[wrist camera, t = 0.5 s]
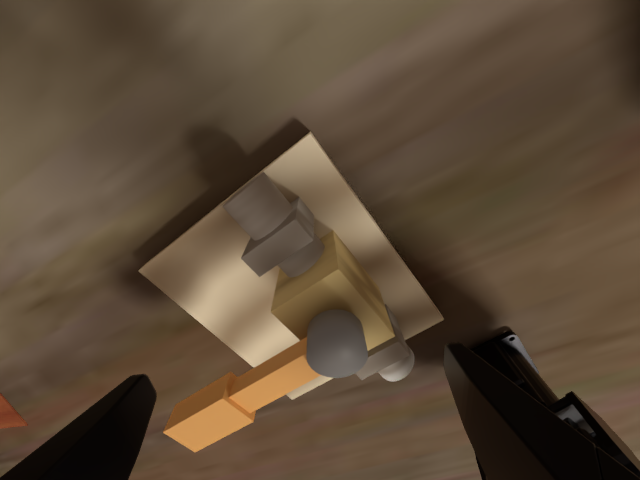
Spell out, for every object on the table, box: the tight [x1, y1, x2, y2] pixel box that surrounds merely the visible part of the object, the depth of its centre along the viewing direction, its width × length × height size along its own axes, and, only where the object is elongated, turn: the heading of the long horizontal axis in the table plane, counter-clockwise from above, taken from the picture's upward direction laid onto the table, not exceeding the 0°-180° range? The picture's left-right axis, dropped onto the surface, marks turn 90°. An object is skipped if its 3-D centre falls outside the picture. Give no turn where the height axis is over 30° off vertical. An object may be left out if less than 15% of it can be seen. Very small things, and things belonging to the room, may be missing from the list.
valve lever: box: [163, 309, 368, 452], centre depth 17 cm, size 3×14×2 cm, turn 127°
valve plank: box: [138, 131, 444, 400], centre depth 21 cm, size 18×16×7 cm
